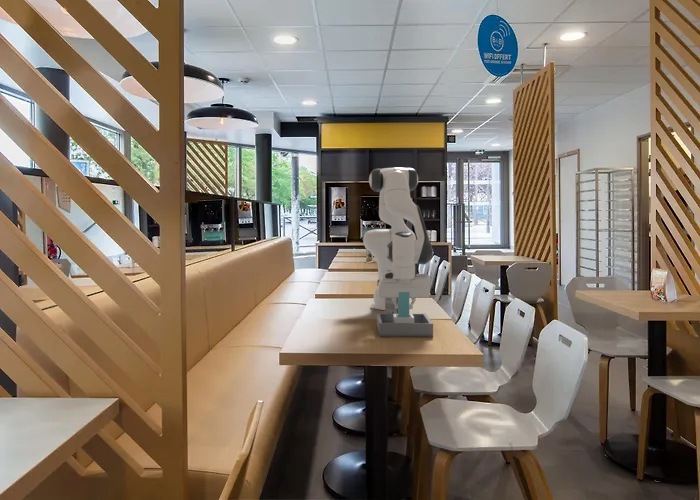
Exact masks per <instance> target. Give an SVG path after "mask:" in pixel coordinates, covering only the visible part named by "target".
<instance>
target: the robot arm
mask: <svg viewBox="0 0 700 500" xmlns="http://www.w3.org/2000/svg"><path fill="white" fill-rule="evenodd" d="M368 183H369V187H370V189H371V190H373V192H377V193H379V198H378V217H379V219H380V220H381V221H382V222H384V223H385V224H387V225H389V226H390V227H391V228H383V229H382V228H381V229H380V228H375V229H371V230H367V231H366V232H365V234H364V235H363V239H362V242H363V246H364V247H365V249H366V250H367V251H369V253H370V254H372V255H373V257H374V259H375V261H376V263H377V272H378V273H377V274H378V277H377V281H376V284H377V285H376V287H377V288H376V289H375V291H374V292H373V295H372V296H373V303H371V305H370V309H374V310H380V311H385V298H392V301H393V303H394V304H395V309H399V305H398V304H396V303H395V301H396V298H399V292H409V299H411V302H410V303H409V310H413V307H414V304H415V302H416V298H417V299H418V298H420V299H421V298H424V299H425V298H427V299H428V298H429V297H430V295H431V292H430V291H431V289H430V284H431V277H430V275H428V274H427V273H416V264H417V265H427V264H429V262H431V261H432V259H433V258H434V257H433V255H434V249H433V245H432V243H431V241H430V238H429V235H428V231H427V228H426V224H425V221H424V217H423V215H422V210H421V208H420V206H419V205H418V204H416V203H415V202H414V201H413V199H412V198H411V192H412V191H414V190H415V189H416V188H417V186H418V184H419V175H418V173H417V170H416V169H415V168H412V167H399V166H398V167H396V166H395V167H384V168H375V169H372V170H371V171H370V174H369V178H368ZM405 220H406V221H408V222H410V223H411V224H412V225H413V228H414V232H415V233H414V232H413V230H411V229H410V228H409V226H407V225H406V223H405ZM394 300H395V301H394Z"/></svg>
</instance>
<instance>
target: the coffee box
mask: <svg viewBox="0 0 700 500" xmlns="http://www.w3.org/2000/svg"><path fill="white" fill-rule="evenodd" d="M394 301H395V300H394ZM395 303H396V304H398V298H396V301H395ZM384 314H398V309H395V304H394V303H393V301H392V298H385V310H384Z"/></svg>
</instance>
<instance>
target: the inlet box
mask: <svg viewBox="0 0 700 500" xmlns="http://www.w3.org/2000/svg"><path fill="white" fill-rule="evenodd" d="M376 327H377V332H378V337H379V338H434V323H433V322H432V320H431V319H430V318H429V316H428V315H427V314H426V313H409V317H398V314H385V313H376Z"/></svg>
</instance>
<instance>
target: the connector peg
mask: <svg viewBox="0 0 700 500" xmlns="http://www.w3.org/2000/svg"><path fill="white" fill-rule="evenodd" d="M409 304H410V298H409V292H399V298H398V305H399V309H398V317H409V314H410V309H409Z"/></svg>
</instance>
